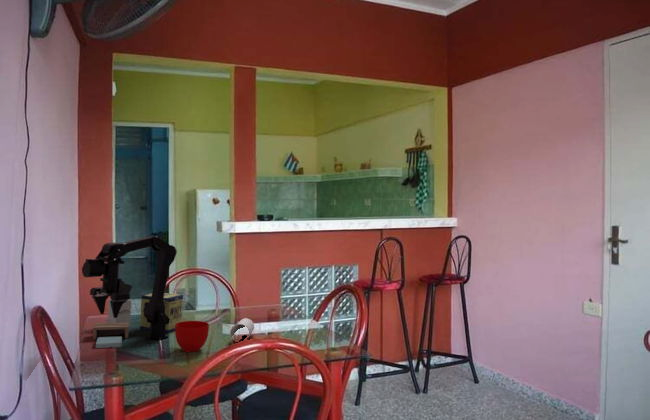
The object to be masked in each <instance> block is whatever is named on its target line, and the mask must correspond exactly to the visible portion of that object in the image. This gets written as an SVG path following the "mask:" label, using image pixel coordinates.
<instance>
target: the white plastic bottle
mask: <svg viewBox="0 0 650 420" xmlns="http://www.w3.org/2000/svg"><path fill="white" fill-rule="evenodd" d="M245 326H246V327H247V328H248V330H249V337H250V336H251V335H252V334H251V333H253V332H254V331H255V323H254V321H253V320H252V319H249V318H247V317H245V318H241V320H239V321H238V322H237V324H234V326H232V328H231V329H230V330H229V331H230V332H229V336H230V338H231V339H232V336H233V335H234V333H235V332H236V331H237V330H238V329H240V328H243V327H245ZM253 330H254V331H253ZM252 331H253V332H252ZM250 334H251V335H250Z"/></svg>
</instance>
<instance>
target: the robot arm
mask: <svg viewBox="0 0 650 420" xmlns="http://www.w3.org/2000/svg"><path fill="white" fill-rule="evenodd" d="M146 248H150V249H151V250H152V251H154V252H155V260H156V265H157V266H156V273H155V278H154V283H153V287H152V292H151V293H152V297H151V299H150V301H149V302H145V307H144V310H143V312H144V316H145V318H146V319H147V322H148V323H150V331H149V335H147V336H146V338H147V339H149V340H153V341H159V340H162V339H167V338H169V335H166V333H165V331H166V324H169V321H170V319H169V317H168V316H167V315H166V314H165V305H164V301H163V298H164V293H165V292H166V286H167V282H168V278H169V271H170V267H171V265H172V264H173V262H174V261H175V259H176V256H177V253H178V252H177V248H176V247H175V246H174V245H171V244H169V243H168V242H166V241H164V240H163V239H160V237H158V236H156V235H148V236H145V237H141V238H137V239H133V240H129V241H124V242H107V243H104V244H103V245H102V247H101V250H100V251H99V253H98V254H97V256H96V257H95V258H94V259H93V258H92V259H90V258H86V259H85V262H84V263H83V265H82V267H81V273H82V275H83V277H84V278H97V277H100V279H99V280H100V282H102V285H101V286H96V287H92V288H91V289H90V290H89V295H90V296H91V298H92V299H93V301H94V302H95V305H96V307H97V310H98V311H99V314H100V315H104V314H105V310H106V302H107V300H108V298H109V297H110V298H109V299H111V301H110V304H111V308H112V313H113V316H114V318H117V316H118V314H119V311H120V309H121V306H122V304H123V303H125V302H127V301H128V300H131V294H130V293H131V290H132V288H133V285H131V284H128V283H125V282H124V280H122V278H119V277H120V276H119V275H120V265H124V264H125V263H126V262H125V261H124V260H123V259H122V257H124V256H126V255H127V254H128V253H131V252H134V251H138V250H143V249H146Z"/></svg>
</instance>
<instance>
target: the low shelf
mask: <svg viewBox="0 0 650 420" xmlns="http://www.w3.org/2000/svg"><path fill="white" fill-rule="evenodd" d="M92 332H93V333H92V340H93V341H97V339H98V336H99V337H101V336H122V335H121V334H125V335H124V339H125V338H128V339H129V332H130V327H129V322H124V323H107V322H101V323H100V322H97V323H94V326H93V331H92ZM112 334H114V335H112Z"/></svg>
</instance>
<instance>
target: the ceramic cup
mask: <svg viewBox="0 0 650 420" xmlns="http://www.w3.org/2000/svg"><path fill="white" fill-rule="evenodd" d="M209 329H210V323H208V322H207V321H203V320H202V321H201V320H187V321H186V320H185V321H184V320H182V322H179V323H176V324H175V331H174V332H175V333H174V334H175V340H176V342H177V345H178V346H179V348H180V349H181V350H182V351H183V352H187V353H194V352H195V351H196V352H199V351H200V350H201V349H202V348H203V347H204V346H205V343H206V342H207V339H208V335H209ZM198 350H199V351H198ZM196 352H195V353H196Z"/></svg>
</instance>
